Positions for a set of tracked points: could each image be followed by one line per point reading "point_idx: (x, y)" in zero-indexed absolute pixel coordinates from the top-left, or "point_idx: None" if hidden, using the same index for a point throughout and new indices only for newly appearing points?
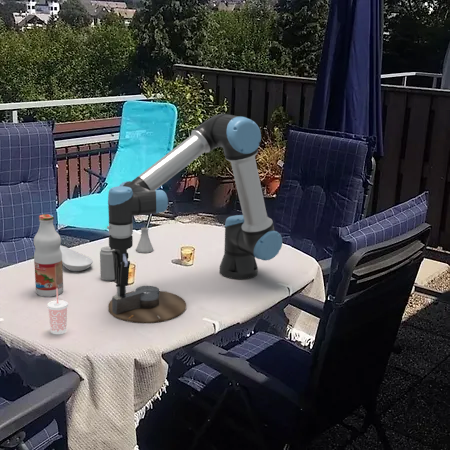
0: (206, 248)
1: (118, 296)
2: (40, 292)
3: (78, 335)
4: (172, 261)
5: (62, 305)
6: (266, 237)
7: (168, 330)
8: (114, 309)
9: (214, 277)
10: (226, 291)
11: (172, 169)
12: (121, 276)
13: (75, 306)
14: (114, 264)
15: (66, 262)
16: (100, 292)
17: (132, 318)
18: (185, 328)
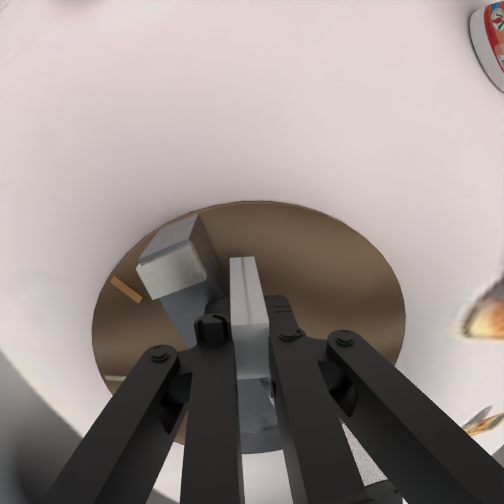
0: (480, 443)
1: (169, 285)
2: (481, 7)
3: (48, 48)
4: (487, 408)
5: None
6: None
7: (49, 367)
8: (175, 226)
9: (371, 478)
10: (287, 494)
11: None
12: (87, 434)
13: (371, 65)
14: (425, 443)
15: None
16: (464, 214)
17: (112, 291)
18: (67, 404)
